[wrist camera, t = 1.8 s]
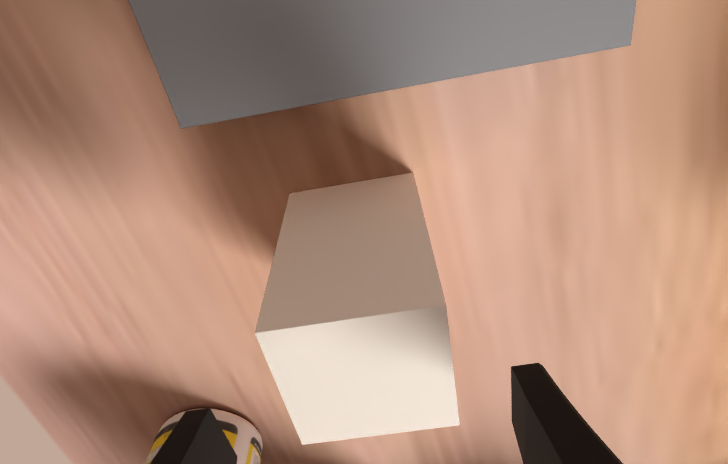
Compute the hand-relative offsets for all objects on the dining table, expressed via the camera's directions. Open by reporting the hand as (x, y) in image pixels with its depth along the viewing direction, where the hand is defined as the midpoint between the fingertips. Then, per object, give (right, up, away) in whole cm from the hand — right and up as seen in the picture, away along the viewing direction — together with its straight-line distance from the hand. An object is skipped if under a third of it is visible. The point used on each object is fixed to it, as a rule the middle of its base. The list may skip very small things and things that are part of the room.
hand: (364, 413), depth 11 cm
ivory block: (0, +4, +7) cm, 8 cm away
